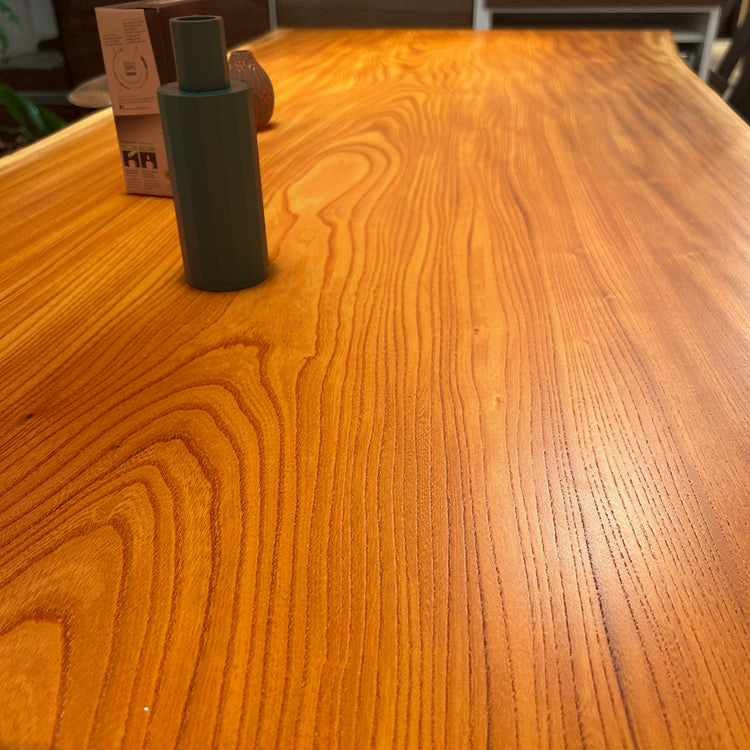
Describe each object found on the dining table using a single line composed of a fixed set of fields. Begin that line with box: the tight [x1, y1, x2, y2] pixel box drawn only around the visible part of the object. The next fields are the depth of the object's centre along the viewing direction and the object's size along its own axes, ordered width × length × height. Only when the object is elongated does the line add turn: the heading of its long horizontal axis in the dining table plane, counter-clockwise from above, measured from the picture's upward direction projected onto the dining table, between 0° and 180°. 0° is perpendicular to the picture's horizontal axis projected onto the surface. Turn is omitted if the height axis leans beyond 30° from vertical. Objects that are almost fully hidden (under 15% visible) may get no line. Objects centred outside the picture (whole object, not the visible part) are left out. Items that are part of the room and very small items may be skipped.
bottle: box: [157, 15, 270, 292], centre depth 52 cm, size 6×6×17 cm
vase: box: [228, 49, 276, 131], centre depth 93 cm, size 7×7×9 cm
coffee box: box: [94, 0, 209, 198], centre depth 72 cm, size 9×6×16 cm
